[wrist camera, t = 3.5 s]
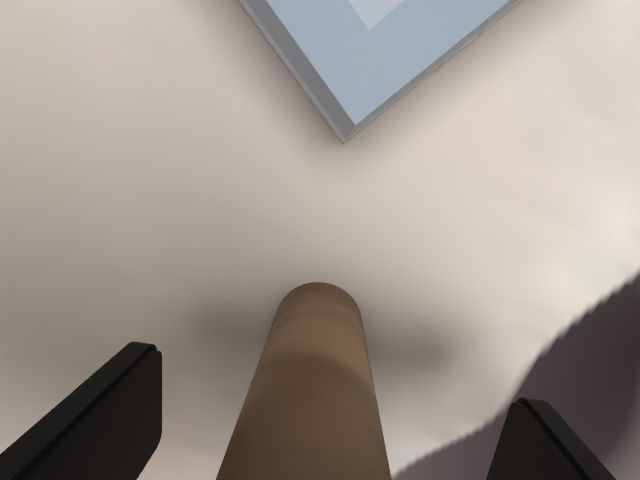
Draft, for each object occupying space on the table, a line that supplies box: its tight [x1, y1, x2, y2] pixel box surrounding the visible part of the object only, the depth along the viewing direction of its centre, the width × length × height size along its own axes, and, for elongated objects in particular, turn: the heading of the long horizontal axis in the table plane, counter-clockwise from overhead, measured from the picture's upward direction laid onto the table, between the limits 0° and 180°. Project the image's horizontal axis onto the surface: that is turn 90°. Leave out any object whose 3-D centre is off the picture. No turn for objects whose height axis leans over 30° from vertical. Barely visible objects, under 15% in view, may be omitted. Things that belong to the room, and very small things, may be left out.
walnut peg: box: [216, 283, 391, 480], centre depth 8 cm, size 4×4×10 cm
